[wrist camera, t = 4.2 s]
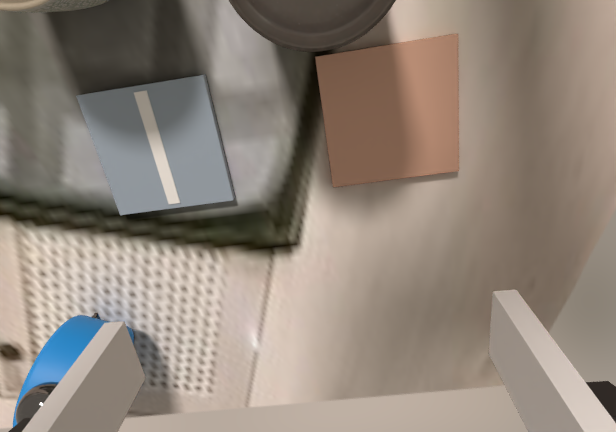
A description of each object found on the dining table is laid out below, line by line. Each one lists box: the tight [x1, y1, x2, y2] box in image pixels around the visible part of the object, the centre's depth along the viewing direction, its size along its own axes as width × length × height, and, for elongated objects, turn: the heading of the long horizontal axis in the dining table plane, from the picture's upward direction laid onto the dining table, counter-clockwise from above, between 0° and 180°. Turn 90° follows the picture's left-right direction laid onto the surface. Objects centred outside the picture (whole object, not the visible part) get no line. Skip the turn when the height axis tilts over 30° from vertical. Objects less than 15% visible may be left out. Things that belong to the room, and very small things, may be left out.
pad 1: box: [76, 74, 235, 215], centre depth 39 cm, size 12×12×1 cm
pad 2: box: [315, 34, 459, 187], centre depth 37 cm, size 12×12×1 cm
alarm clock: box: [13, 313, 134, 427], centre depth 43 cm, size 13×6×15 cm, turn 163°
